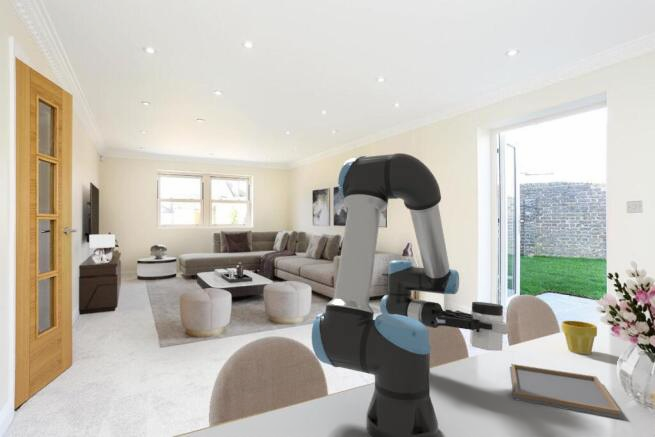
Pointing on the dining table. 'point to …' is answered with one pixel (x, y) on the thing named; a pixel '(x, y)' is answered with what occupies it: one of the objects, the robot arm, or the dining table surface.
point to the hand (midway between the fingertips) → (506, 328)
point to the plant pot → (579, 336)
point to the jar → (483, 337)
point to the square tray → (562, 390)
